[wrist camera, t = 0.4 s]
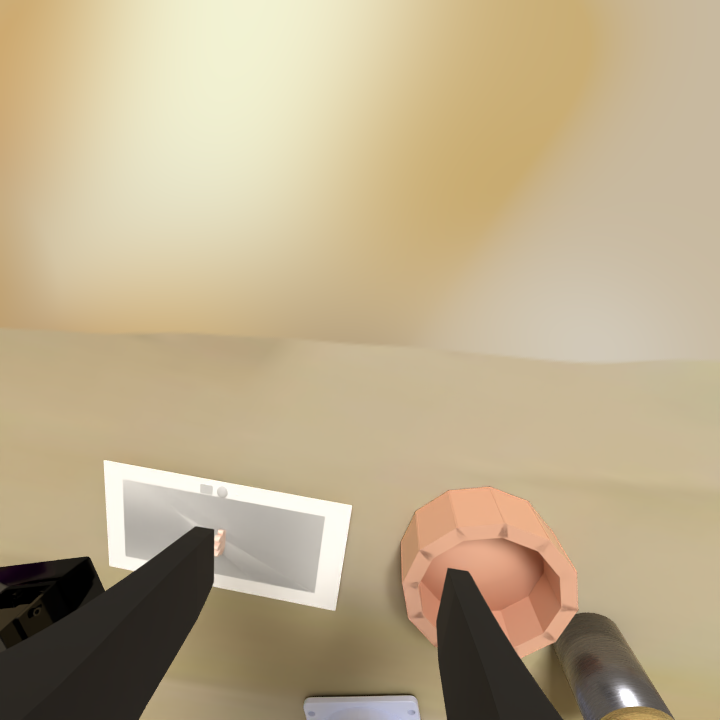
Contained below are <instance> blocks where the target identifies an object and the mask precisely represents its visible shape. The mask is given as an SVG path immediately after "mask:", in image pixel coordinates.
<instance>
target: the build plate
mask: <svg viewBox="0 0 720 720" xmlns="http://www.w3.org/2000/svg"><path fill="white" fill-rule="evenodd" d="M103 592H105V590H104V588H103V586H102V583H101V581H100V579H99V577H98V574H97V572H96V570H95V568H94V566H93V563H92V561H91V559H90V558H89V557H79V558H71V559H63V560H55V561H47V562H39V563H30V564H22V565H14V566H6V567H0V653H1V652H3V651H5V650H6V649H8V648H10V647H12V646H14V645H16V644H18V643H20V642H22V641H24V640H25V639H27V638H29V637H31V636H33V635H35V634H36V633H38V632H40V631H42V630H43V629H45V628H47V627H49V626H50V625H52V624H54V623H55V622H57V621H59V620H61V619H62V618H64V617H66V616H67V615H69V614H71V613H72V612H74V611H76V610H77V609H79V608H80V607H82V606H84V605H85V604H87V603H88V602H90V601H91V600H93V599H94V598H96V597H97V596H99V595H100V594H102V593H103Z"/></svg>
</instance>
